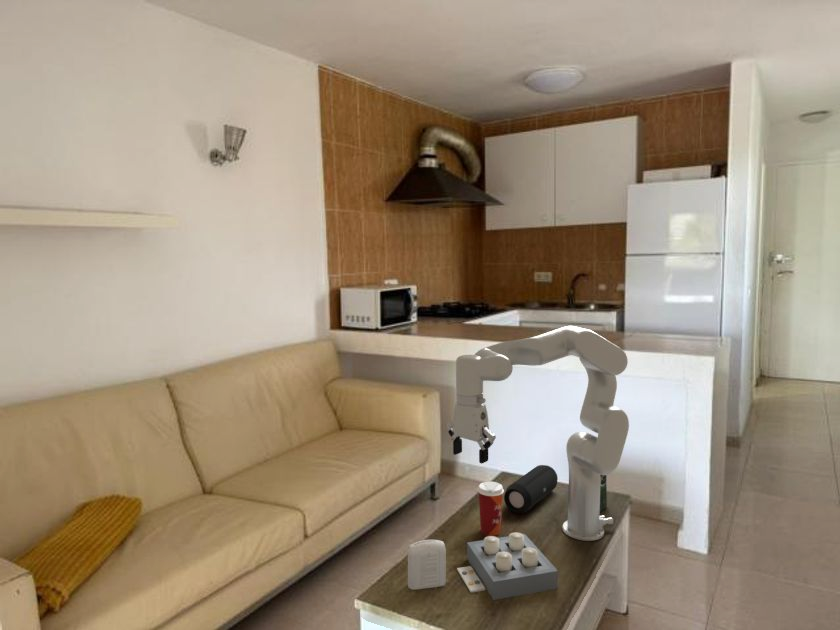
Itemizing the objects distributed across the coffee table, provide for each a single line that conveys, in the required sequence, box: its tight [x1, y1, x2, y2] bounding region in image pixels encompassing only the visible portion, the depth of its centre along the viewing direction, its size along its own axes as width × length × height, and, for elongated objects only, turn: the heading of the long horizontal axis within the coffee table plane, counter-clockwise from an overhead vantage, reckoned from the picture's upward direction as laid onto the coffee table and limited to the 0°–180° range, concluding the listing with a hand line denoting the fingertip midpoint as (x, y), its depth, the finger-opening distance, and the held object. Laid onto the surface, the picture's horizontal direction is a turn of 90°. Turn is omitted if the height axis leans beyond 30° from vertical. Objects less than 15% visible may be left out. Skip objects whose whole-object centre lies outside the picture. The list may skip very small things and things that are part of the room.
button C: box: [483, 536, 499, 556], centre depth 159 cm, size 4×4×5 cm
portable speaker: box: [503, 464, 559, 514], centre depth 200 cm, size 26×10×10 cm, turn 143°
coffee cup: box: [477, 481, 505, 537], centre depth 179 cm, size 8×8×15 cm
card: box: [457, 565, 486, 593], centre depth 154 cm, size 4×11×1 cm, turn 15°
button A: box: [508, 532, 524, 552], centre depth 161 cm, size 4×4×5 cm
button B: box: [521, 548, 538, 569], centre depth 153 cm, size 4×4×5 cm
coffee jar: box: [600, 475, 608, 512], centre depth 195 cm, size 10×8×19 cm
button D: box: [495, 552, 513, 573], centre depth 151 cm, size 4×4×5 cm
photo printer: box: [407, 539, 447, 591], centre depth 151 cm, size 10×4×12 cm, turn 103°
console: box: [466, 533, 559, 601], centre depth 156 cm, size 18×20×5 cm
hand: (470, 457), depth 162 cm, fingers open, 9 cm apart
